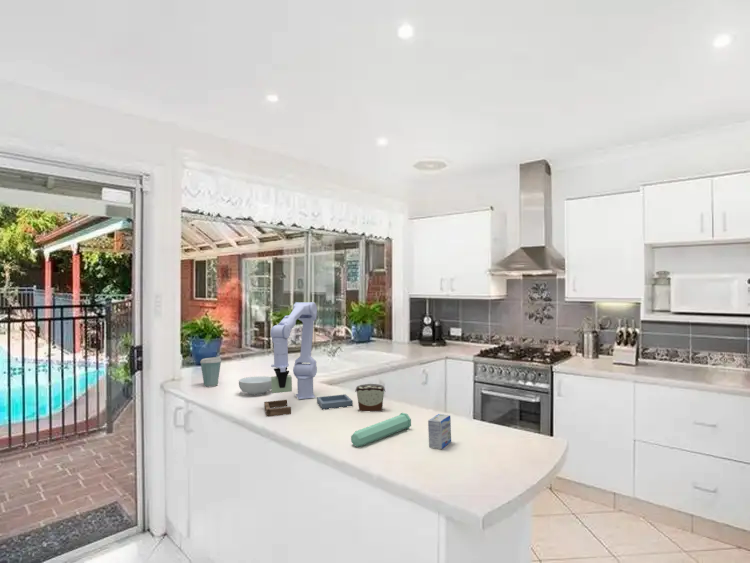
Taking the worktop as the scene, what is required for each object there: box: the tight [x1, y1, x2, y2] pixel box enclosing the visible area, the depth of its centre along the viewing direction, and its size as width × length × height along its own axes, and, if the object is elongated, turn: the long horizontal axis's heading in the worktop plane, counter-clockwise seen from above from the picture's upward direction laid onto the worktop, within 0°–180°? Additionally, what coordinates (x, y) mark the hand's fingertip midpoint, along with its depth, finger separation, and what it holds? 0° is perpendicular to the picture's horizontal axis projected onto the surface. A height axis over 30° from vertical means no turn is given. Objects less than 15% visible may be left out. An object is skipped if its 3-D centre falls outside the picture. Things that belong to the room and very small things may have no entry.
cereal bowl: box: [238, 375, 272, 396], centre depth 217 cm, size 17×17×7 cm
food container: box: [354, 383, 386, 413], centre depth 183 cm, size 12×6×10 cm, turn 84°
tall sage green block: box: [270, 374, 293, 394], centre depth 185 cm, size 4×8×6 cm, turn 108°
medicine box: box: [427, 413, 452, 450], centre depth 141 cm, size 8×4×9 cm, turn 148°
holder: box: [263, 399, 292, 417], centre depth 185 cm, size 14×10×2 cm
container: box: [350, 412, 412, 448], centre depth 150 cm, size 6×6×25 cm
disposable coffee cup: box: [199, 356, 222, 388], centre depth 236 cm, size 11×11×15 cm
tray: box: [316, 393, 354, 410], centre depth 192 cm, size 12×13×2 cm
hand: (281, 386), depth 185 cm, fingers closed on tall sage green block, 4 cm apart
